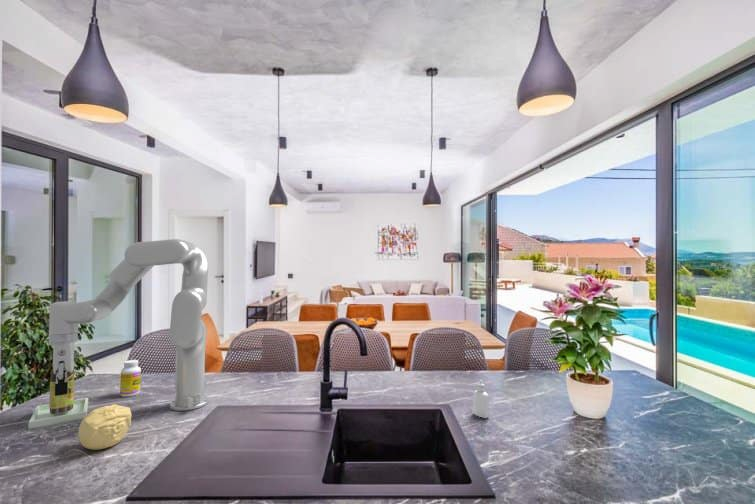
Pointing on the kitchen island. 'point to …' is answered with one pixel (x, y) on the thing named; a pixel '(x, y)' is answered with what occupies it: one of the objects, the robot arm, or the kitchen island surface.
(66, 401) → the sauce bottle
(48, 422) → the tray
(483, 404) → the eye dropper bottle
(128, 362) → the supplement bottle
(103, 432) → the sculpture
